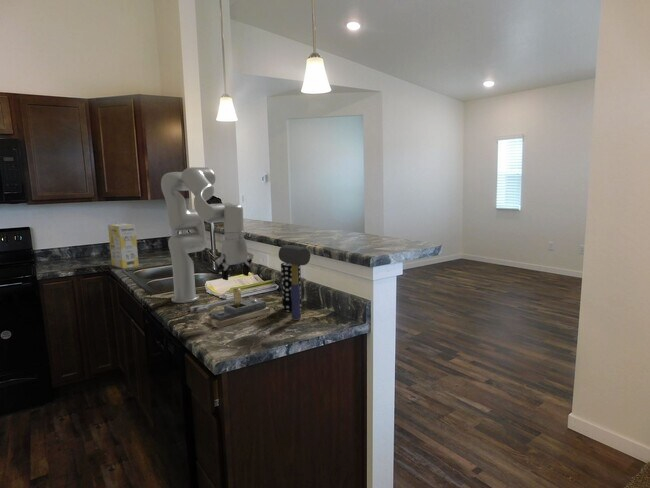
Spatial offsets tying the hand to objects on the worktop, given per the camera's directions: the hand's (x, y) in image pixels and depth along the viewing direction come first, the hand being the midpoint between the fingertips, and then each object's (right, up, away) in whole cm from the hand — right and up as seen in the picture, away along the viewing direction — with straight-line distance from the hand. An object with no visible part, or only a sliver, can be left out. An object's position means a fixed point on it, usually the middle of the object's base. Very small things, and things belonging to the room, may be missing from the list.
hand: (235, 277), depth 173 cm
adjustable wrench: (-13, -15, +20) cm, 28 cm away
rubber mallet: (+25, -17, -2) cm, 30 cm away
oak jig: (+1, -17, +2) cm, 17 cm away
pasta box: (-100, -1, +118) cm, 155 cm away
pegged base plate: (+1, -15, +2) cm, 15 cm away
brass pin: (+1, -15, +2) cm, 15 cm away
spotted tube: (+22, -15, +12) cm, 29 cm away
